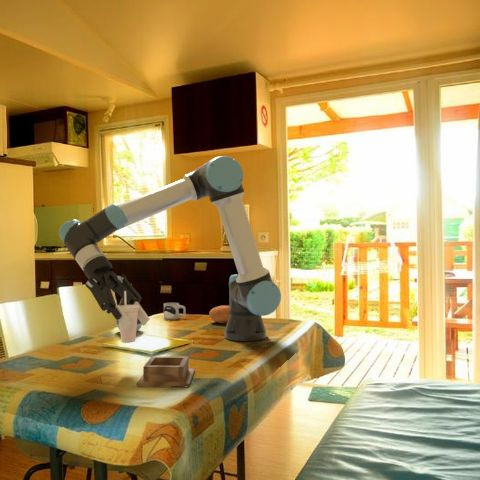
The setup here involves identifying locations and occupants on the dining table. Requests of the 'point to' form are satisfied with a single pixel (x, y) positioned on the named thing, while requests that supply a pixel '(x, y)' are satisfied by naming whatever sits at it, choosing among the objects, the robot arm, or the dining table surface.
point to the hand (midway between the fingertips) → (137, 324)
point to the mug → (173, 311)
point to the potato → (220, 314)
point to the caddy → (166, 372)
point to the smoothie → (132, 314)
